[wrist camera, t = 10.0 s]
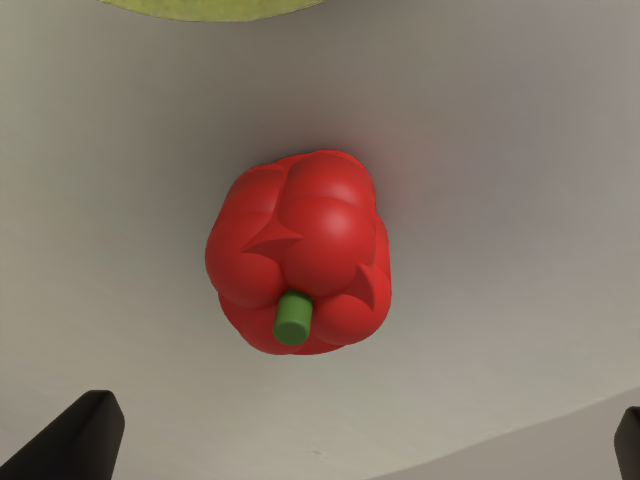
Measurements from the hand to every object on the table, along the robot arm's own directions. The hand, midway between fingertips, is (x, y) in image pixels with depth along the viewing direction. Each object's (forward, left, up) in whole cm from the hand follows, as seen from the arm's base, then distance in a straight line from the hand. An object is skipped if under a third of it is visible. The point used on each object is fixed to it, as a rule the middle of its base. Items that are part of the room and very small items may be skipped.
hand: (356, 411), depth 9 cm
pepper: (+2, +2, -11) cm, 11 cm away
